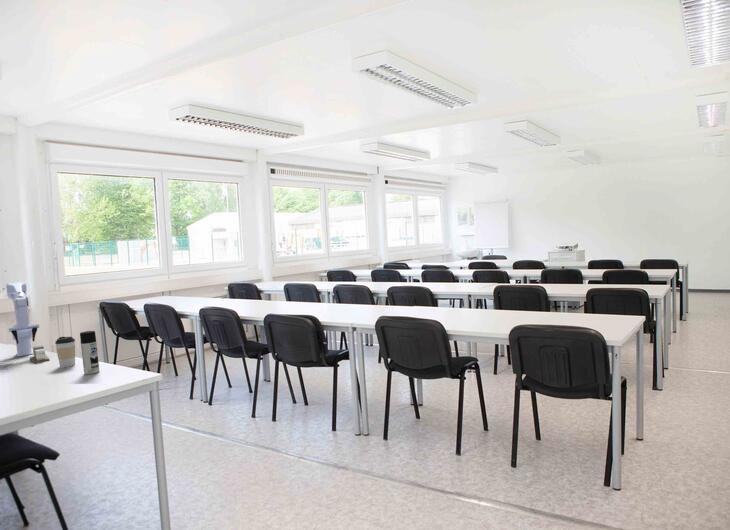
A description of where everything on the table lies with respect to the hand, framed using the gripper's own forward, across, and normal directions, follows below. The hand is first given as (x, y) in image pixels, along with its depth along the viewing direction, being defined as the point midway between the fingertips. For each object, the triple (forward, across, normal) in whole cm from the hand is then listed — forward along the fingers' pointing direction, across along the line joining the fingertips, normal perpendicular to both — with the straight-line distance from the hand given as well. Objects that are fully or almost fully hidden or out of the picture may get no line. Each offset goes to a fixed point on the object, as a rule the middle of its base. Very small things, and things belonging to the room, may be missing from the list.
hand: (25, 342), depth 302 cm
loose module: (+8, +5, -10) cm, 14 cm away
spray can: (+10, +20, -74) cm, 77 cm away
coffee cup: (+10, +14, -44) cm, 47 cm away
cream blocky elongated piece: (+9, +5, -10) cm, 15 cm away
